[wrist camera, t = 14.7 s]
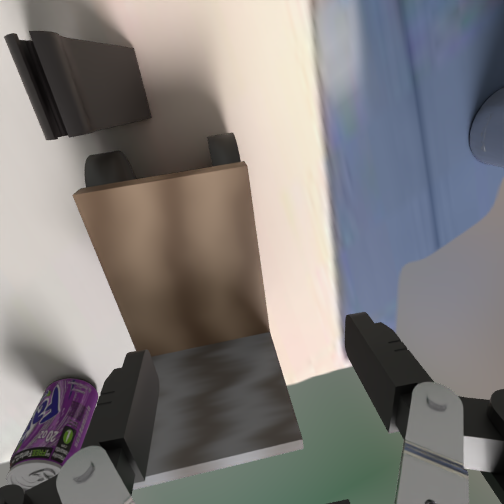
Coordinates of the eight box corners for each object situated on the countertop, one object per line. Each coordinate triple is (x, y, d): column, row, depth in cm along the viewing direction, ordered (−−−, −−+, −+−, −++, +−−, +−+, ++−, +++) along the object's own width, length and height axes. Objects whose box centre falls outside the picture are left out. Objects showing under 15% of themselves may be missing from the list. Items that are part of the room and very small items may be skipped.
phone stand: (61, 130, 31) (-9, 148, 21) (35, 61, 29) (-61, 40, 18) (152, 118, 32) (129, 129, 21) (135, 48, 29) (99, 22, 19)
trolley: (231, 128, 34) (278, 174, 14) (257, 301, 44) (304, 462, 25) (98, 149, 33) (-48, 229, 13) (158, 321, 43) (125, 506, 24)
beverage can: (86, 368, 45) (51, 453, 34) (107, 400, 48) (82, 486, 38) (37, 382, 45) (-13, 471, 34) (62, 413, 48) (23, 503, 37)
